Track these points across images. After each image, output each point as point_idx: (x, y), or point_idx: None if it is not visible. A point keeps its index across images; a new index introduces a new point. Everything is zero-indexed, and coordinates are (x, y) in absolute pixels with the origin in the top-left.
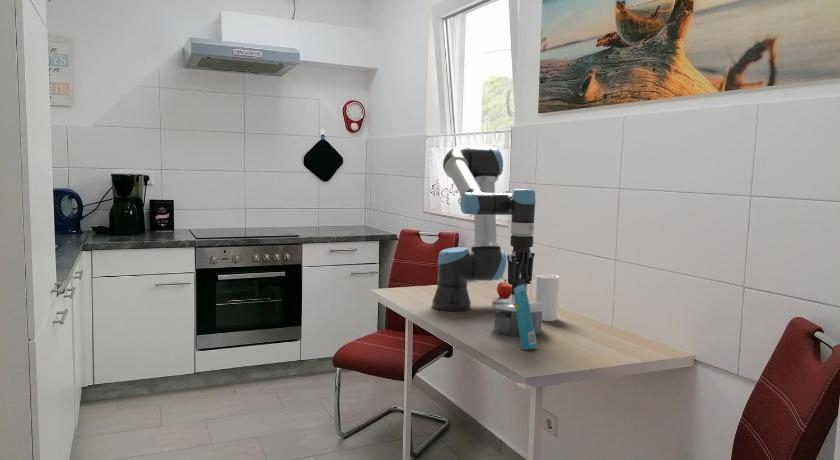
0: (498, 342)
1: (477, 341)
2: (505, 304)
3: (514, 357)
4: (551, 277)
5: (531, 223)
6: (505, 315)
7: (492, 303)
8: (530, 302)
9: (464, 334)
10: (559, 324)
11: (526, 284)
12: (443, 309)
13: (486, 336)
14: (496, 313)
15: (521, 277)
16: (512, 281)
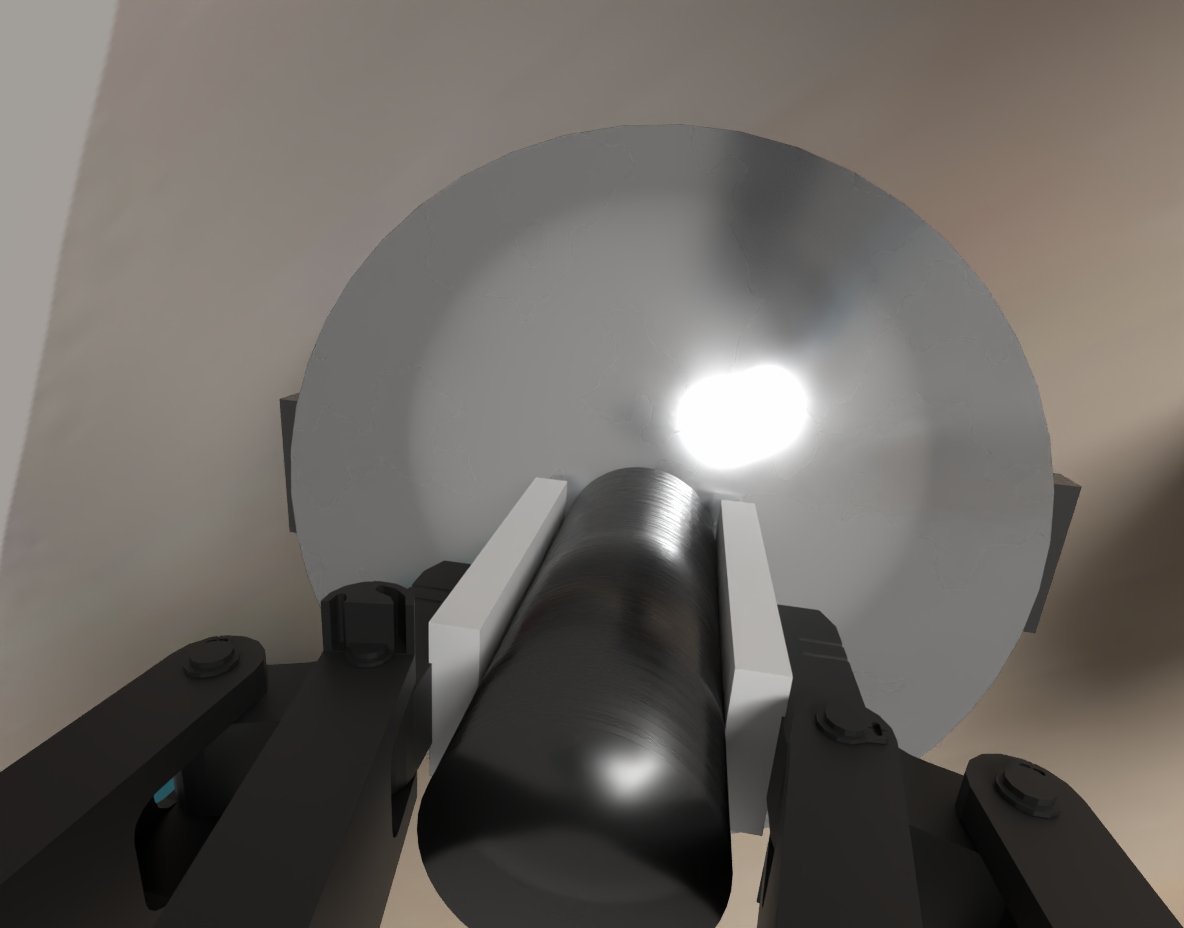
0: (249, 490)
1: (142, 359)
2: (487, 406)
3: (98, 703)
4: None
5: None
6: (291, 524)
7: (399, 224)
8: (876, 606)
9: (196, 147)
10: (1170, 633)
11: (730, 826)
12: None
13: (300, 333)
14: (281, 406)
15: (728, 847)
16: (177, 787)
